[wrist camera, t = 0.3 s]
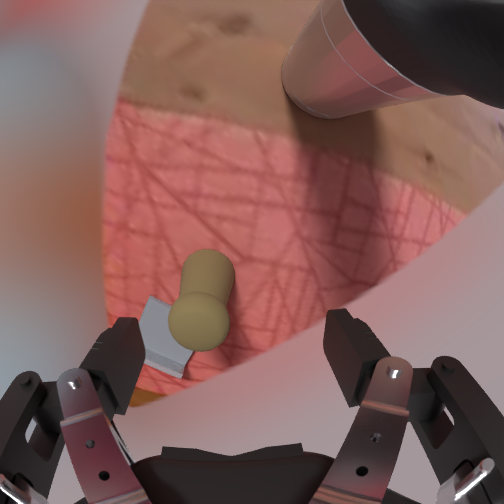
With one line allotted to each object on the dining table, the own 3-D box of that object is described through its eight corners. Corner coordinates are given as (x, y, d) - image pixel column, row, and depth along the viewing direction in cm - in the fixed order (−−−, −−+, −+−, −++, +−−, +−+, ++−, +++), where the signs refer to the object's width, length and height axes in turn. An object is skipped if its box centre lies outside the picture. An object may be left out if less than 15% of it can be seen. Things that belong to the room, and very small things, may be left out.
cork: (243, 286, 31) (247, 349, 21) (197, 304, 32) (184, 369, 22) (220, 240, 29) (213, 290, 19) (172, 261, 30) (144, 317, 20)
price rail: (132, 338, 33) (127, 350, 31) (185, 362, 35) (183, 374, 33) (131, 343, 34) (126, 354, 31) (182, 366, 36) (180, 378, 33)
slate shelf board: (150, 295, 31) (149, 297, 31) (209, 323, 33) (208, 325, 32) (132, 338, 33) (131, 341, 33) (185, 362, 35) (184, 365, 35)
